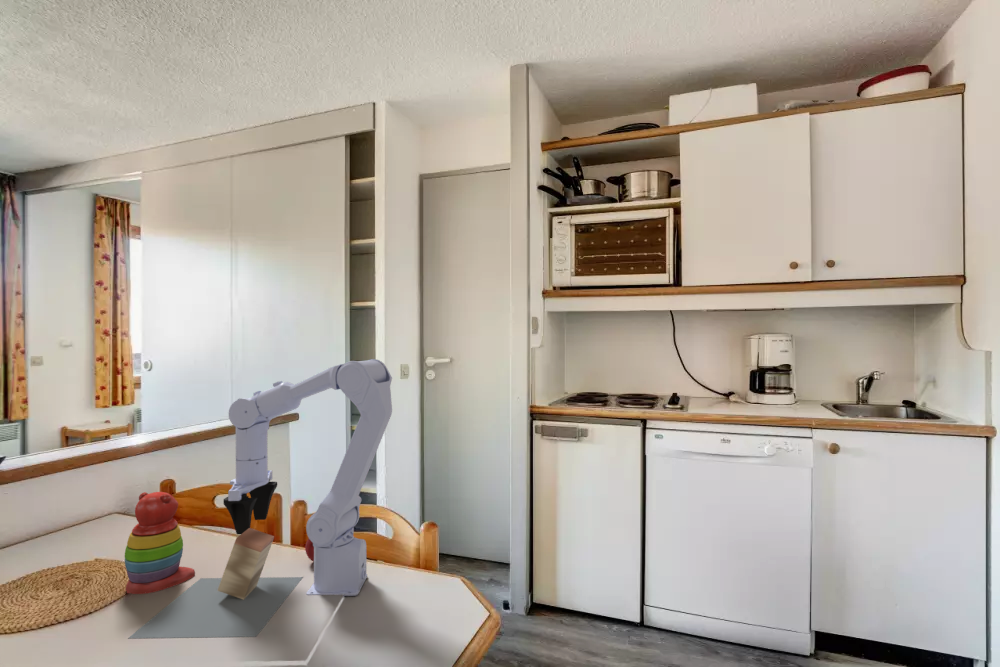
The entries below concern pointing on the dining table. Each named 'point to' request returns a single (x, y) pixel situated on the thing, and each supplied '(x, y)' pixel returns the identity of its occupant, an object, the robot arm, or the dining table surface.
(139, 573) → the stacking bear
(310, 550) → the onion
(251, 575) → the beech block
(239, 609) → the slate mat
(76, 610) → the dining table surface
